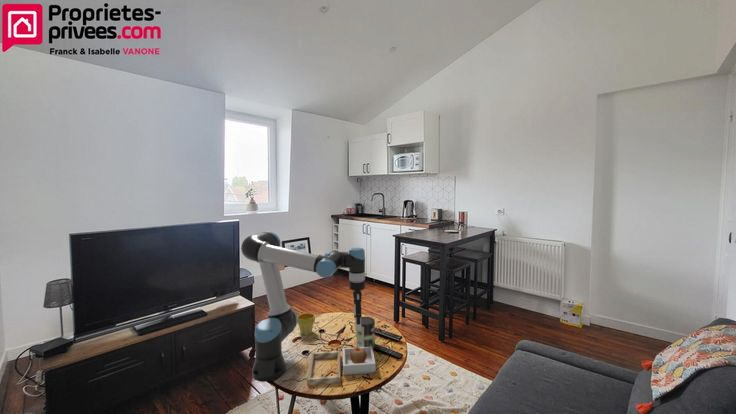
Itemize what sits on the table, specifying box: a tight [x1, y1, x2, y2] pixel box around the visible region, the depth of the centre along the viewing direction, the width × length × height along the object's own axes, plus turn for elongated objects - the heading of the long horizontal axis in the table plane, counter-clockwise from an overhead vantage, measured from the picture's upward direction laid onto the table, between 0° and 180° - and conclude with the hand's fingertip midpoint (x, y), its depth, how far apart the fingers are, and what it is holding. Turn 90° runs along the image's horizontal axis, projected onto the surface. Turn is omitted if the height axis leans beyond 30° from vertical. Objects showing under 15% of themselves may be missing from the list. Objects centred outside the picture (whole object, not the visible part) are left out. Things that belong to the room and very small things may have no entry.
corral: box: [306, 350, 341, 386], centre depth 141 cm, size 14×21×2 cm
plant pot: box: [297, 312, 316, 336], centre depth 177 cm, size 10×10×10 cm
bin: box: [342, 346, 377, 376], centre depth 144 cm, size 15×15×4 cm
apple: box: [350, 346, 367, 364], centre depth 144 cm, size 8×8×8 cm
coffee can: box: [355, 316, 376, 350], centre depth 161 cm, size 10×10×14 cm
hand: (357, 323), depth 143 cm, fingers open, 13 cm apart
